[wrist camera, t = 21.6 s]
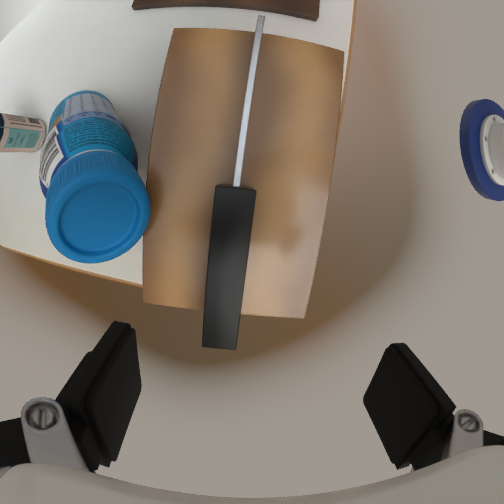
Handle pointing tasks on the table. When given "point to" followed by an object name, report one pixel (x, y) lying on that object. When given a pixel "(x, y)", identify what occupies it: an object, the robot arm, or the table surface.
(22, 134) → the beige cylinder
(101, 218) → the blue jar
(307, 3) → the board
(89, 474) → the robot arm
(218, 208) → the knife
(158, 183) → the bread box
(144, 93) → the table surface
